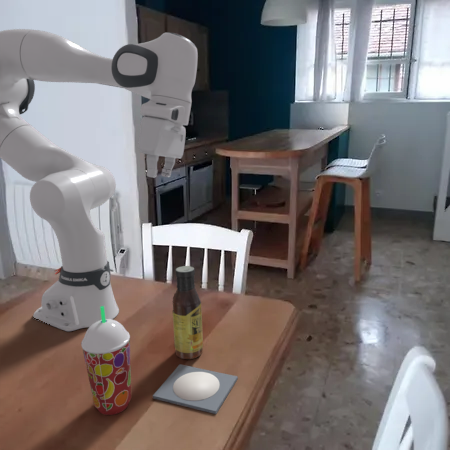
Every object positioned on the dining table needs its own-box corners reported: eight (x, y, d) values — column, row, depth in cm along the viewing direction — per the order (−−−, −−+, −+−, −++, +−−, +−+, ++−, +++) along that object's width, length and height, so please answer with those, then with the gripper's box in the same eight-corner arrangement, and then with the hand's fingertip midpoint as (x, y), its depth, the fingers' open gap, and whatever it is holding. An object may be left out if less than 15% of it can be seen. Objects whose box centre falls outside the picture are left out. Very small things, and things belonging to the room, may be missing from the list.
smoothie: (95, 392, 86) (83, 298, 81) (138, 389, 87) (129, 295, 81) (85, 422, 78) (71, 319, 73) (133, 418, 79) (123, 316, 73)
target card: (153, 398, 84) (152, 395, 84) (180, 366, 94) (179, 363, 94) (216, 414, 79) (216, 410, 79) (237, 379, 89) (237, 376, 89)
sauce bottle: (199, 362, 95) (194, 276, 90) (171, 359, 96) (165, 274, 91) (206, 346, 101) (202, 264, 96) (180, 344, 102) (175, 263, 97)
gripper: (170, 117, 106) (161, 174, 108) (137, 104, 86) (127, 174, 88) (195, 121, 105) (185, 179, 107) (168, 109, 85) (157, 180, 87)
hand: (158, 177), depth 98 cm, fingers open, 8 cm apart
